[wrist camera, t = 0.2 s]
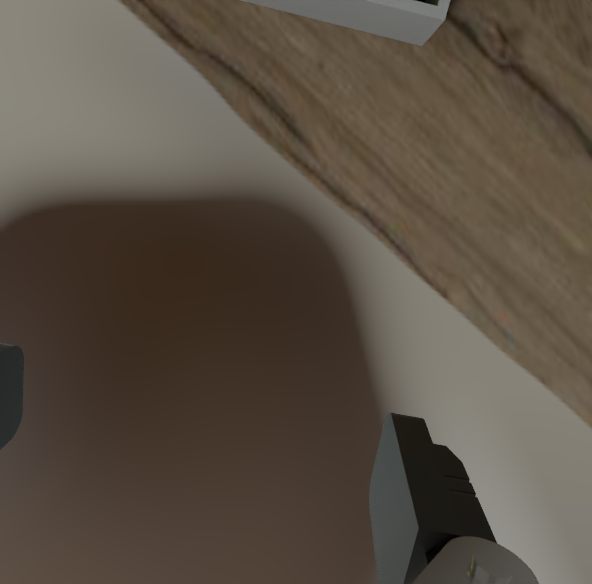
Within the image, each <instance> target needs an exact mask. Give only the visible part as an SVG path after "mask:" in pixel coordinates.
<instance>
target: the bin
mask: <svg viewBox="0 0 592 584" xmlns="http://www.w3.org/2000/svg"><path fill="white" fill-rule="evenodd" d="M241 1H245V2H249V3H253V4H257V5H261V6H265V7H268V8H272V9H276V10H280V11H284V12H288V13H292V14H296V15H300V16H304V17H308V18H312V19H316V20H320V21H324V22H328V23H332V24H336V25H340V26H343V27H347V28H351V29H355V30H359V31H363V32H367V33H371V34H375V35H379V36H383V37H387V38H391V39H395V40H399V41H403V42H407V43H411V44H415V45H418V46H423V45H424V44H425V42H426V41H427V40H428V39H429V38H430V37H431V36H432V34H433V33H434V32H435V31H436V30H437V29H438V28H439V26H440V25H441V24H442V23H443V22H444V21H445V18H446V14H447V11H448V7H449V4H450V0H426V1H425V3H423V2H419V1H415V0H241Z"/></svg>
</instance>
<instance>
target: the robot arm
mask: <svg viewBox="0 0 592 584" xmlns="http://www.w3.org/2000/svg"><path fill="white" fill-rule="evenodd" d="M23 370H24V356H23V352H22V350H21V348H20V347H18V346H14V345H8V344H3V343H0V449H1V448H2V447H4V446H5V445H6V444H7V443H8V442H9V441H10V440H11V439H12V438H13V436H14V435H15V433H16V431H17V429H18V427H19V425H20V422H21V418H22V411H23ZM475 494H476V493H475V491H474V489H473V486H472V484H471V483H469V477H468V475H467V473H466V470H465V468H464V466H463V463H462V462H461V461H460V460H459V459H458V458H457V457H456V456H455V455H454V454H453V453H452V452H451V451H450V450H449V449H448V448H447V447H446V446H443V445H437V444H433V442H432V440H431V437H430V434H429V431H428V428H427V426H426V423H425V420H424V419H422V418H417V417H412V416H406V415H400V414H395V413H388V414H387V416H386V419H385V422H384V426H383V430H382V435H381V439H380V443H379V447H378V451H377V456H376V460H375V464H374V469H373V472H372V477H371V484H370V494H369V506H370V515H371V523H372V532H373V541H374V549H375V557H376V566H377V574H378V583H379V584H539V583H538V581H537V578H536V577H535V575H534V573H533V572H532V571H531V569H530V568H529V567H528V566H527V565H526V564H525V563H524V562H523V561H522V560H521V559H520V558H519V557H518V556H516V555H515V554H514V553H512V552H511V551H509V550H508V549H506V548H505V547H502V546H501V545H499V544H497V542H496V540H495V537H494V535H493V533H492V530H491V528H490V526H489V523H488V521H487V519H486V517H485V514H484V512H483V509H482V507H481V505H480V503H479V500H478V498H477V497H475Z"/></svg>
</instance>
